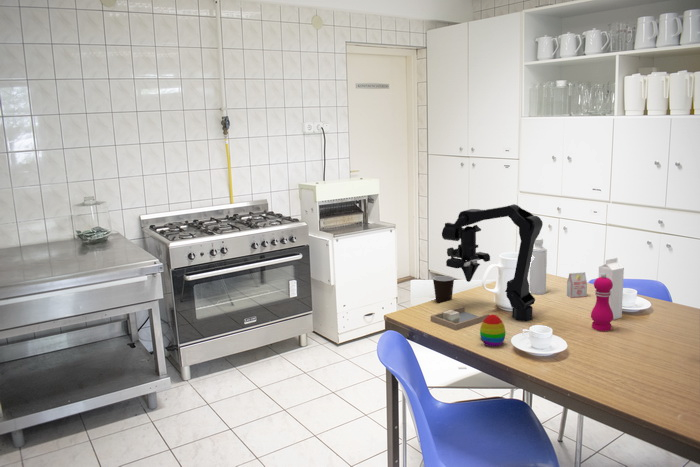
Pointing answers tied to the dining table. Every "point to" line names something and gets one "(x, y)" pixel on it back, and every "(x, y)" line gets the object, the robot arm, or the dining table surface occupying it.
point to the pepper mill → (602, 304)
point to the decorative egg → (492, 331)
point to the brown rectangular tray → (464, 319)
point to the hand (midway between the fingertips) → (468, 281)
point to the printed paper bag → (577, 285)
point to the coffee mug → (443, 288)
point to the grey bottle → (538, 268)
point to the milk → (614, 285)
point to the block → (451, 316)
